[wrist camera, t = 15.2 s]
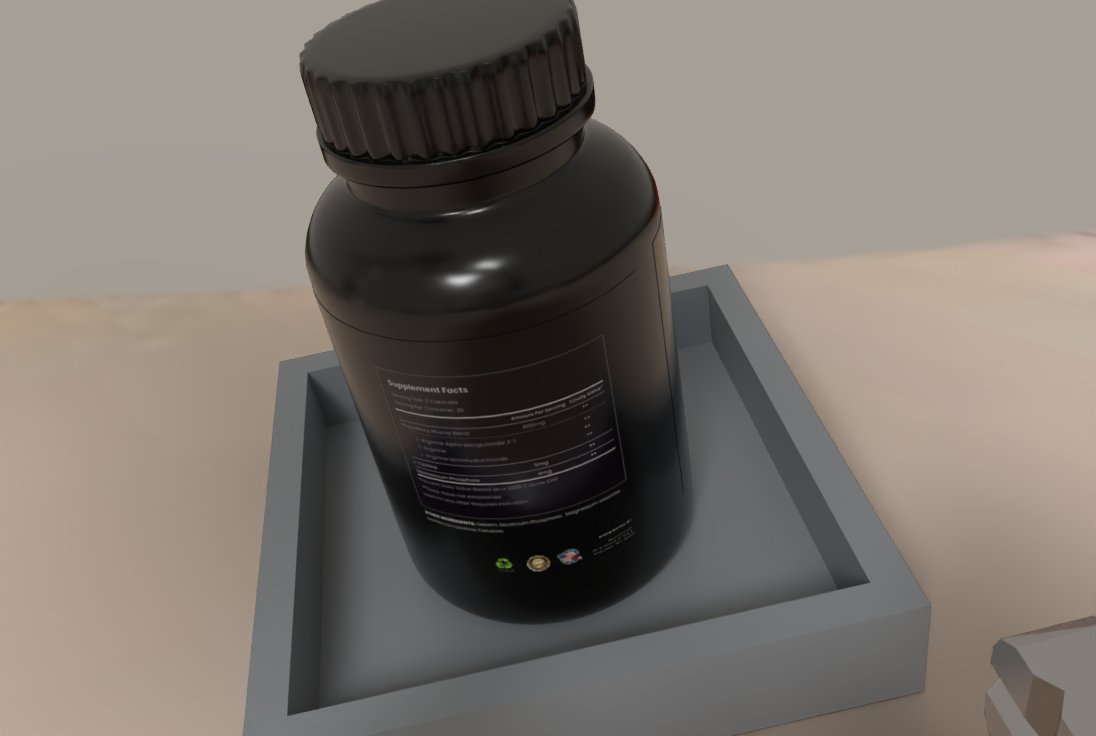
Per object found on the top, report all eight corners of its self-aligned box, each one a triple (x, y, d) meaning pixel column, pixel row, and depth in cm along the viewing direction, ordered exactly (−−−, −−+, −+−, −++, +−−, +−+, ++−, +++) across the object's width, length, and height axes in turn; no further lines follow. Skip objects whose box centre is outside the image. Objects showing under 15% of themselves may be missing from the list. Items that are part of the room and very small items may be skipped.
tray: (282, 840, 20) (240, 764, 18) (306, 431, 30) (279, 362, 29) (923, 691, 20) (930, 605, 19) (732, 337, 31) (727, 264, 29)
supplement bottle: (417, 449, 28) (276, -7, 21) (674, 411, 27) (619, -68, 20) (396, 661, 22) (195, 135, 15) (719, 617, 22) (666, 55, 15)
